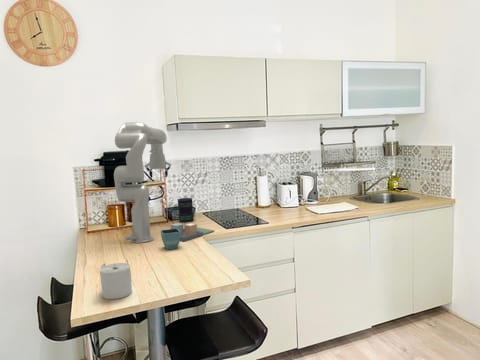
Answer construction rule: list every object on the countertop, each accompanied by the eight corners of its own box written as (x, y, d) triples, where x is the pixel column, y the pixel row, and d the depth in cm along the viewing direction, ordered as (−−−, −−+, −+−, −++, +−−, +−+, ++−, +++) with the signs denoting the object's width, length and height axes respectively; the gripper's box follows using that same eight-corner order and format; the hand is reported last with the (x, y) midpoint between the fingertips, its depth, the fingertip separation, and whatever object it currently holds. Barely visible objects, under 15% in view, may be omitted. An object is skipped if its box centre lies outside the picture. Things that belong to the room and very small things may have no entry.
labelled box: (190, 237, 216) (190, 225, 215) (184, 236, 219) (184, 224, 218) (197, 235, 219) (196, 224, 218) (191, 234, 223) (190, 222, 222)
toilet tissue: (124, 300, 138) (121, 273, 137) (93, 299, 140) (90, 272, 139) (137, 288, 148) (134, 263, 147) (108, 287, 150) (105, 262, 149)
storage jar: (190, 222, 254) (189, 200, 252) (176, 222, 256) (175, 200, 254) (195, 219, 264) (194, 197, 262) (182, 219, 266) (180, 198, 264)
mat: (204, 234, 222) (204, 233, 222) (188, 231, 231) (188, 230, 231) (214, 231, 228) (214, 230, 228) (198, 228, 237) (198, 227, 237)
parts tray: (184, 241, 210) (183, 237, 209) (165, 237, 220) (165, 233, 220) (203, 235, 220) (202, 231, 220) (184, 232, 231) (184, 228, 230)
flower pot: (178, 244, 205) (176, 227, 204) (181, 248, 197) (180, 231, 196) (161, 246, 202) (160, 230, 201) (164, 251, 194) (163, 234, 193)
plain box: (176, 237, 217) (176, 225, 217) (171, 235, 221) (170, 224, 220) (183, 235, 221) (183, 224, 220) (178, 233, 224) (177, 223, 224)
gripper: (142, 152, 250) (144, 178, 252) (169, 151, 250) (171, 177, 252) (145, 151, 257) (147, 177, 259) (171, 150, 258) (172, 176, 260)
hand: (158, 177), depth 256 cm, fingers open, 9 cm apart
